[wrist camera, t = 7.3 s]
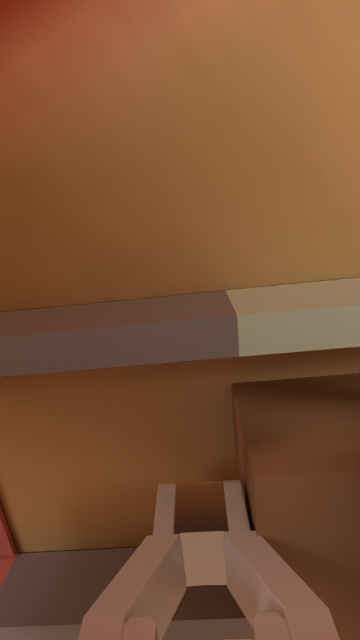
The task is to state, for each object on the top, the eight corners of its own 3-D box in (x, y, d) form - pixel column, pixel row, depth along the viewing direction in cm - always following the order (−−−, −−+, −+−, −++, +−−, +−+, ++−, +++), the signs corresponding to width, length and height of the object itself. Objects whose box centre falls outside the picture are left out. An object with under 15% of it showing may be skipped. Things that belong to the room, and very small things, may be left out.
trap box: (-91, 576, 14) (-150, 652, 11) (-214, 333, 10) (-333, 368, 8) (622, 542, 12) (726, 622, 10) (747, 239, 9) (952, 249, 6)
